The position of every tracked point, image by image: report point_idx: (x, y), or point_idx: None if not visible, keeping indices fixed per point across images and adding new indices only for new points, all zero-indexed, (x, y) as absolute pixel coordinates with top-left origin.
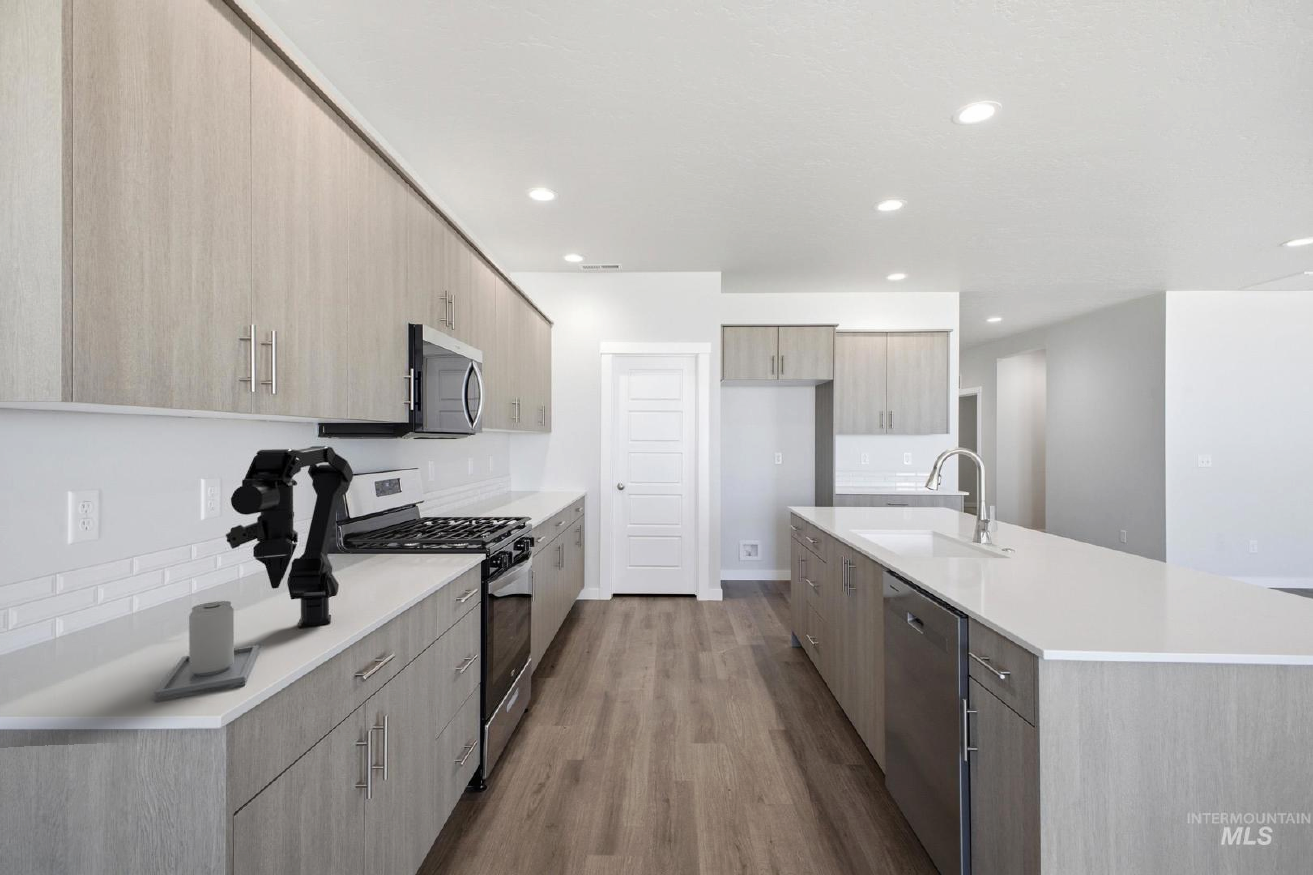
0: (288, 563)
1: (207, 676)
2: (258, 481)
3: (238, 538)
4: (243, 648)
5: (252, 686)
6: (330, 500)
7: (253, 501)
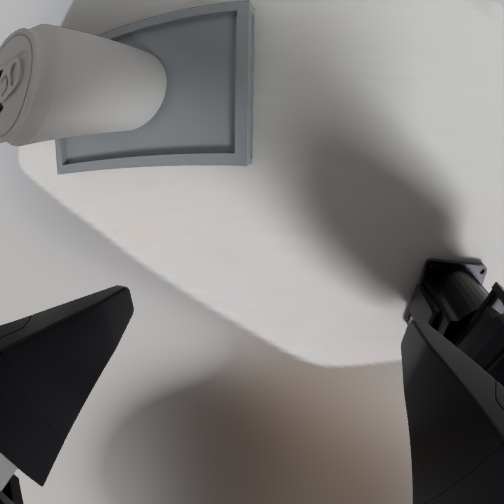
0: (412, 446)
1: None
2: None
3: None
4: (235, 128)
5: (65, 183)
6: None
7: None
